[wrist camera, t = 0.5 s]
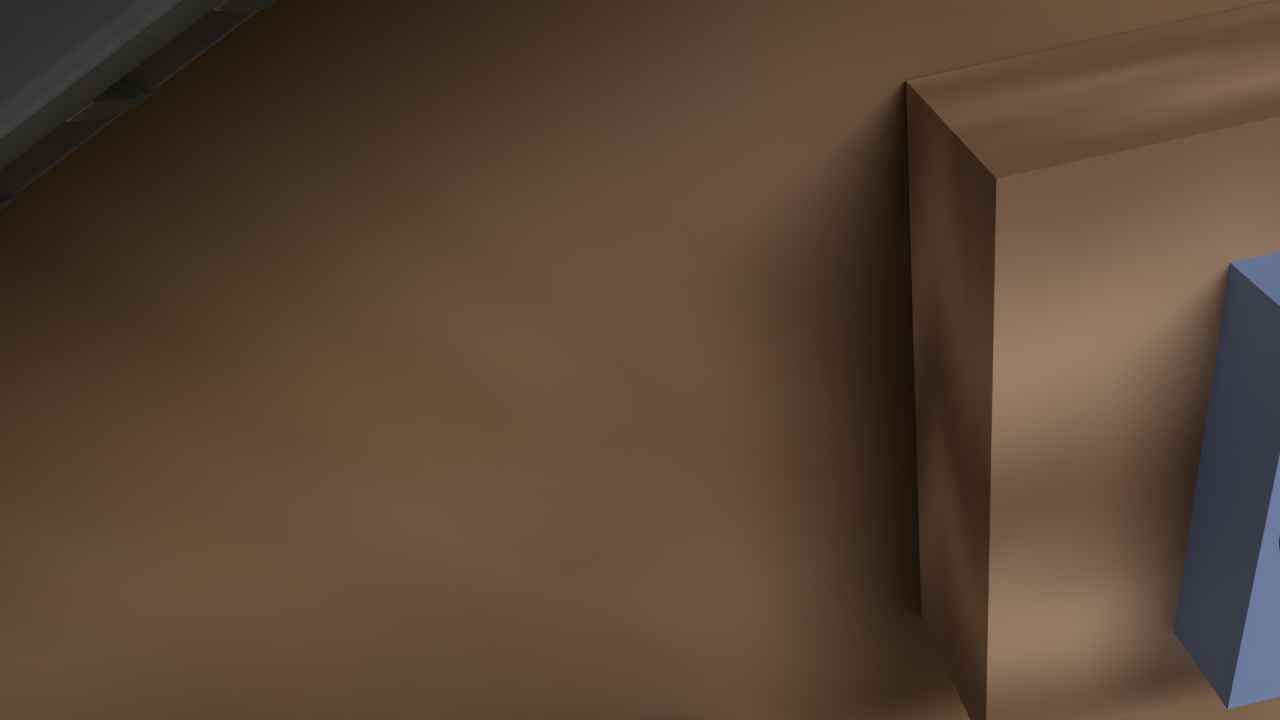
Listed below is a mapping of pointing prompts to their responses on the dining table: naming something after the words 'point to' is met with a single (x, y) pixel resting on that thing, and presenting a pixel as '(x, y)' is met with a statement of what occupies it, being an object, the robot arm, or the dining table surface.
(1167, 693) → the board
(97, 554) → the dining table surface
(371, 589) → the dining table surface
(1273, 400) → the card box
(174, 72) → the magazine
